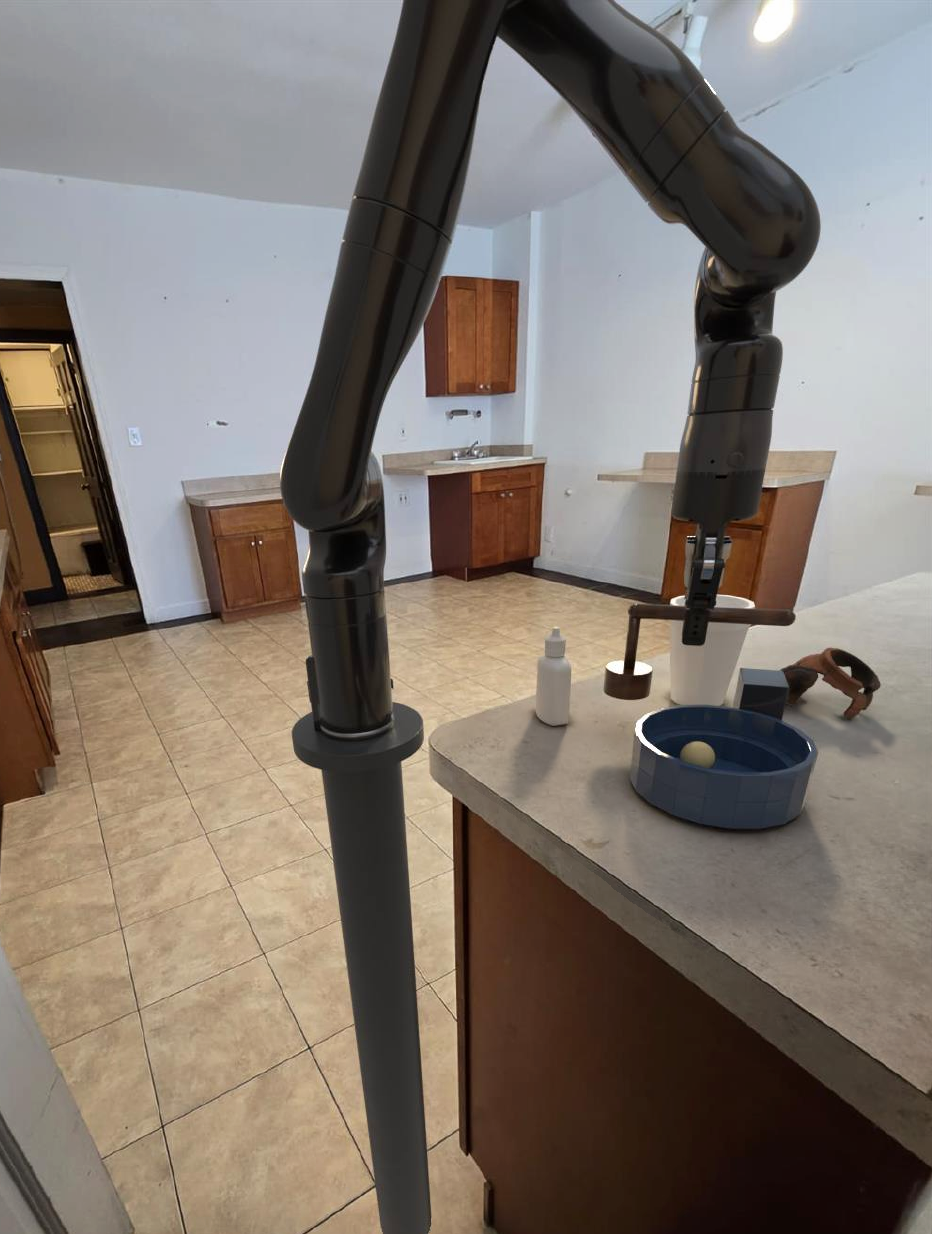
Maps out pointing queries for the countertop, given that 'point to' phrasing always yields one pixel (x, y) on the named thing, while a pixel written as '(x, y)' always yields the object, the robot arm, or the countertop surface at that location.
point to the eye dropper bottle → (553, 681)
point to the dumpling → (698, 754)
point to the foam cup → (706, 657)
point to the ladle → (636, 676)
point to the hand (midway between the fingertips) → (692, 641)
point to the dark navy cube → (762, 692)
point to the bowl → (723, 766)
